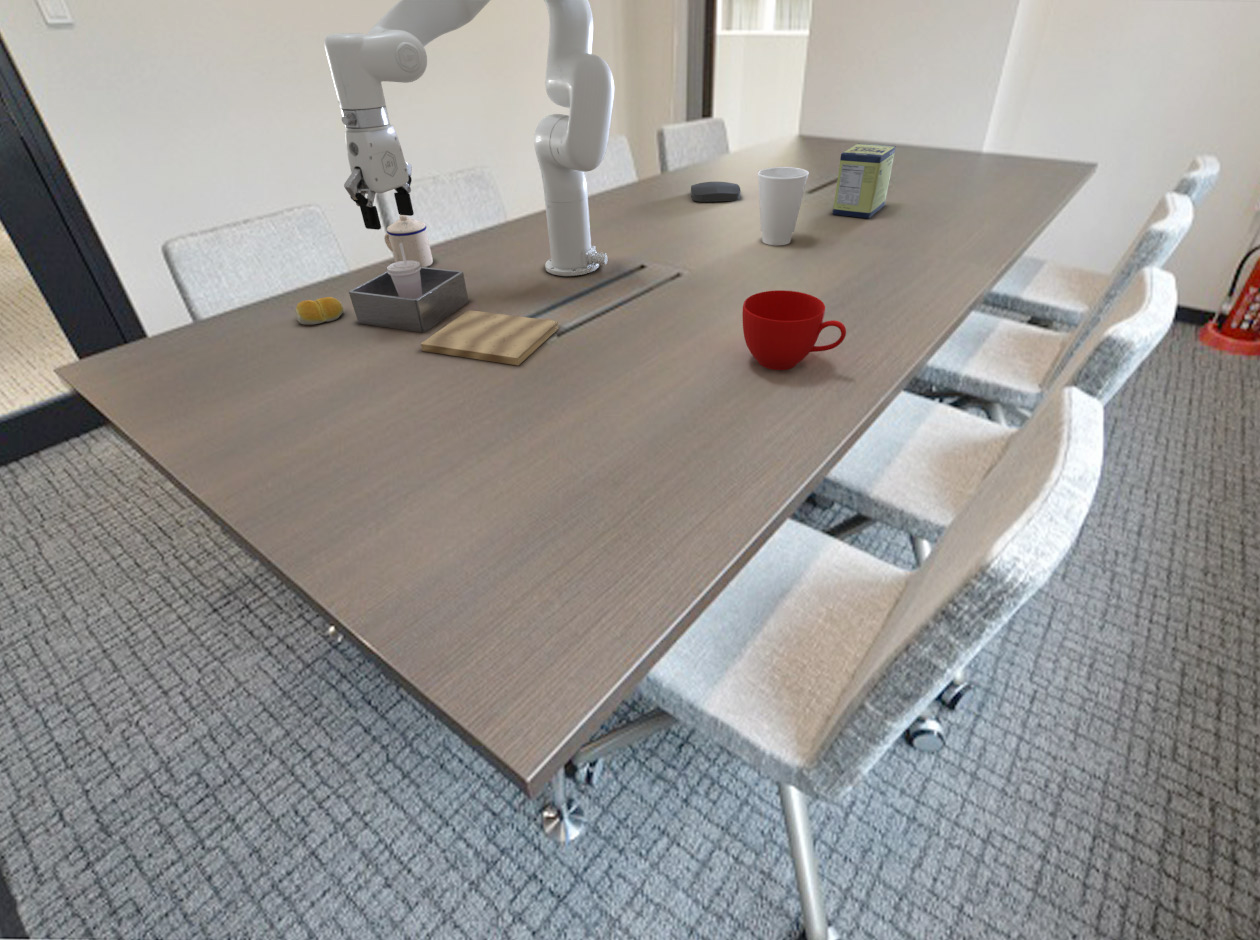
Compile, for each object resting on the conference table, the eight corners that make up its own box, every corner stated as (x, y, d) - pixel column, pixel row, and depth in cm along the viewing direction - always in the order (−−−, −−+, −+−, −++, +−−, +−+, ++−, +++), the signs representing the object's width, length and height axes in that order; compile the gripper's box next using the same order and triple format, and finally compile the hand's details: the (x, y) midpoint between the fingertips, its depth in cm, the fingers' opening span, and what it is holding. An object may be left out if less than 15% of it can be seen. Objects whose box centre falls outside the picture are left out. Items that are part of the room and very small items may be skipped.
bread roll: (348, 318, 130) (342, 299, 128) (302, 329, 127) (295, 310, 124) (339, 305, 136) (333, 287, 134) (294, 316, 132) (288, 297, 130)
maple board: (558, 328, 122) (558, 321, 122) (518, 365, 111) (517, 358, 110) (469, 316, 129) (468, 309, 128) (422, 351, 117) (420, 343, 116)
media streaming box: (741, 201, 191) (742, 191, 189) (692, 203, 191) (693, 193, 190) (735, 189, 203) (736, 179, 201) (689, 191, 203) (690, 181, 201)
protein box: (885, 205, 182) (896, 145, 173) (869, 219, 172) (881, 156, 163) (848, 201, 187) (857, 142, 178) (831, 215, 177) (840, 153, 167)
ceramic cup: (825, 392, 99) (835, 332, 93) (726, 368, 107) (729, 311, 101) (850, 358, 108) (860, 302, 102) (756, 339, 116) (761, 285, 110)
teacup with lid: (441, 260, 157) (431, 211, 150) (417, 272, 151) (405, 221, 144) (403, 255, 162) (391, 207, 155) (378, 267, 155) (364, 217, 148)
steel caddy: (469, 301, 135) (464, 271, 131) (424, 332, 123) (416, 300, 119) (406, 293, 140) (399, 264, 136) (357, 323, 128) (347, 291, 124)
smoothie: (422, 319, 129) (405, 248, 120) (393, 317, 130) (374, 248, 121) (436, 306, 134) (420, 238, 125) (408, 305, 135) (390, 237, 126)
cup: (747, 246, 158) (752, 176, 148) (758, 232, 166) (763, 165, 157) (795, 250, 154) (804, 179, 144) (804, 235, 163) (812, 167, 153)
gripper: (349, 127, 103) (376, 236, 113) (414, 112, 116) (433, 211, 126) (313, 126, 105) (343, 232, 115) (380, 112, 118) (402, 208, 128)
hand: (390, 221), depth 121 cm, fingers open, 9 cm apart
